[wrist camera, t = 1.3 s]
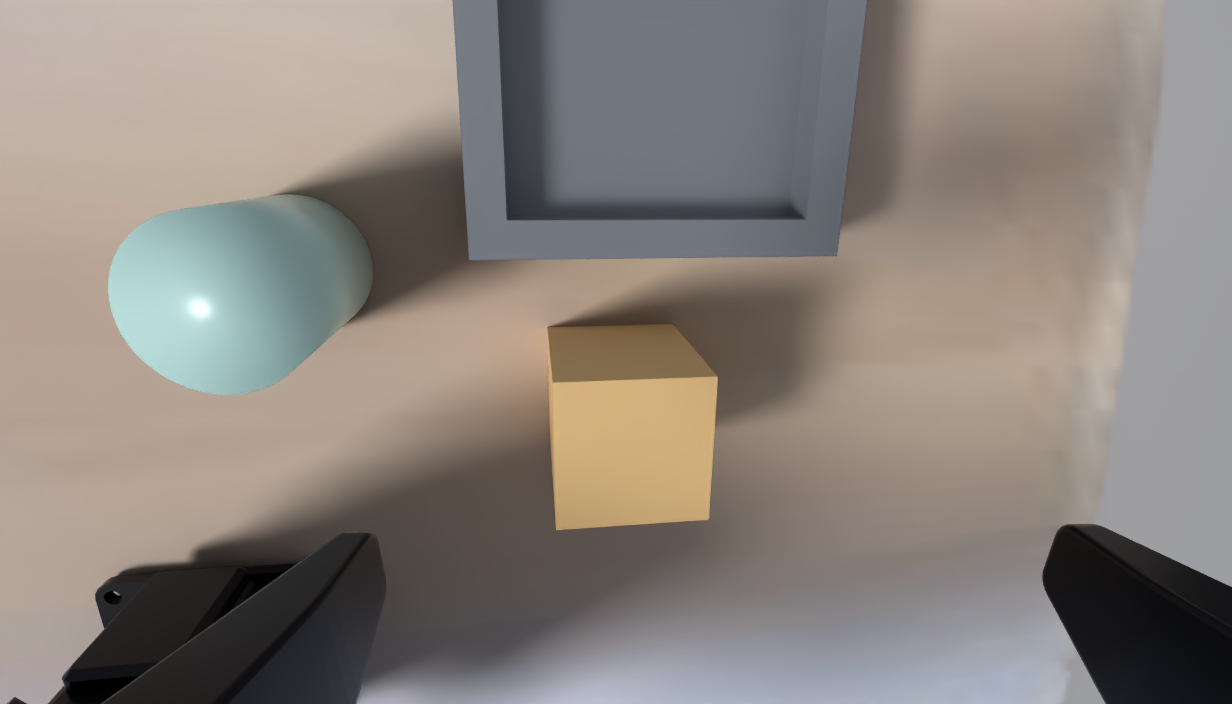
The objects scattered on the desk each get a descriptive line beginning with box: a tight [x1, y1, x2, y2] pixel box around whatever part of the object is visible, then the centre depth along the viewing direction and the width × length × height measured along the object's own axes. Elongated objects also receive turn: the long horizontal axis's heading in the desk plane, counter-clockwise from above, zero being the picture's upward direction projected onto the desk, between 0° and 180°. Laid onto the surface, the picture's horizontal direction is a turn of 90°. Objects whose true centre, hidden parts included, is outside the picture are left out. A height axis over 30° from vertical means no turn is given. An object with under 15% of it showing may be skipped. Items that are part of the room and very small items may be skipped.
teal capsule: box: [108, 194, 373, 395], centre depth 15 cm, size 4×4×5 cm
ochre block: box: [547, 324, 718, 530], centre depth 18 cm, size 4×4×5 cm
